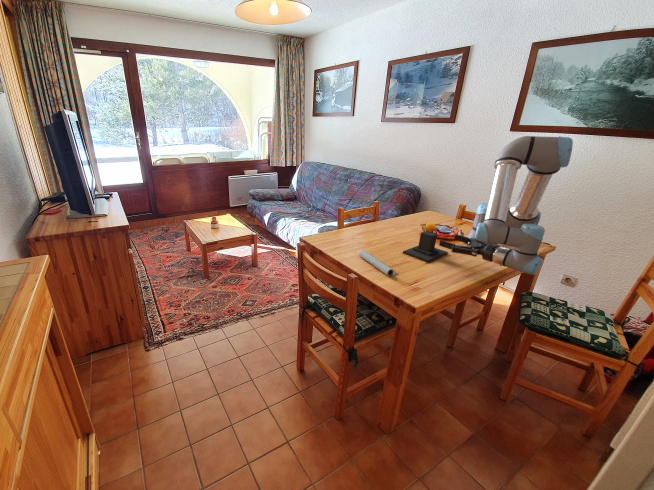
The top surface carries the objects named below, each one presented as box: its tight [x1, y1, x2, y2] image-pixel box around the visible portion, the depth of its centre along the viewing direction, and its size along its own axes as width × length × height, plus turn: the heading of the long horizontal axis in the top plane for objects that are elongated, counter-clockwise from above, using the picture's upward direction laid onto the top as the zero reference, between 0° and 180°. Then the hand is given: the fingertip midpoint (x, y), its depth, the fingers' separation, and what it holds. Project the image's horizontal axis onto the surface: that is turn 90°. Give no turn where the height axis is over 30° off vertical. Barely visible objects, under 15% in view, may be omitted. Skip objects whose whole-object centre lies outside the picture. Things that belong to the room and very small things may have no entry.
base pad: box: [402, 245, 449, 263], centre depth 160 cm, size 18×14×3 cm
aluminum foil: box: [359, 250, 397, 277], centre depth 147 cm, size 23×7×3 cm, turn 19°
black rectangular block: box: [417, 230, 438, 253], centre depth 158 cm, size 5×6×10 cm
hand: (447, 239), depth 149 cm, fingers open, 13 cm apart
